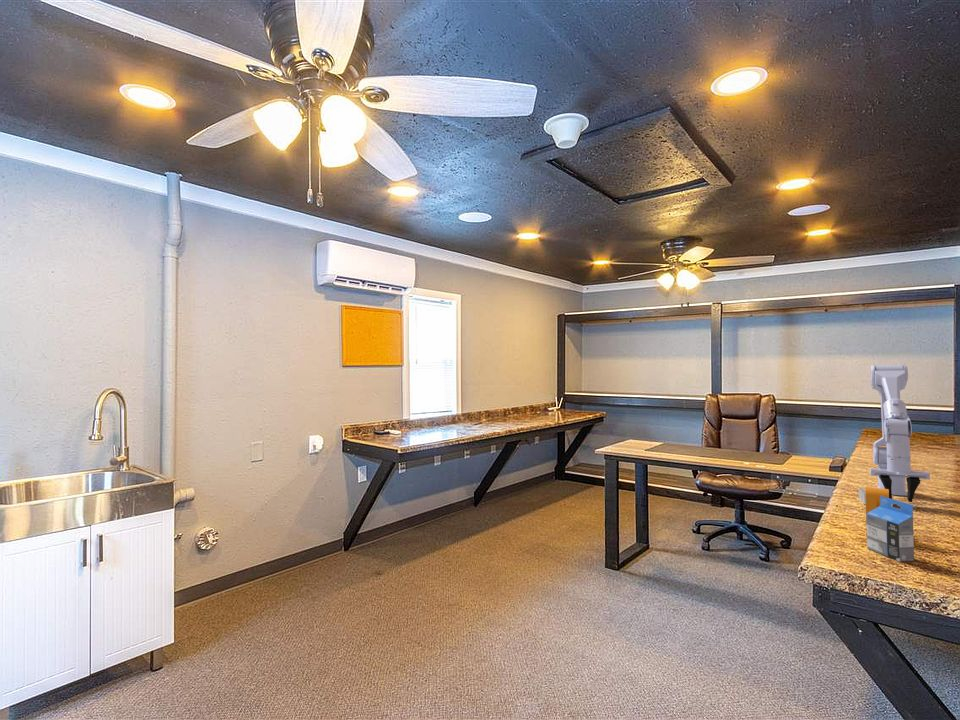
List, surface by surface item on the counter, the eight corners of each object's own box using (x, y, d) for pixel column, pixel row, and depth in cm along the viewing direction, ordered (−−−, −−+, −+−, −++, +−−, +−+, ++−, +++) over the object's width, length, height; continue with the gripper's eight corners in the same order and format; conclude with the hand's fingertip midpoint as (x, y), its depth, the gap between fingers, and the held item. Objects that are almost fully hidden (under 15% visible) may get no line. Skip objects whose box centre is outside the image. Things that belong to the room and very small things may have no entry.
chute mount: (858, 498, 170) (858, 487, 170) (885, 500, 167) (885, 489, 167) (864, 504, 161) (864, 493, 161) (892, 507, 158) (892, 495, 158)
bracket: (904, 545, 124) (902, 494, 124) (866, 539, 128) (865, 490, 128) (902, 534, 132) (901, 486, 132) (867, 529, 136) (865, 483, 137)
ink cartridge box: (865, 548, 121) (864, 495, 121) (881, 548, 121) (879, 495, 122) (899, 562, 112) (897, 505, 113) (916, 561, 112) (914, 504, 113)
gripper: (872, 457, 161) (873, 500, 161) (932, 460, 155) (933, 505, 154) (867, 453, 168) (869, 496, 167) (925, 456, 161) (926, 500, 160)
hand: (899, 500), depth 161 cm, fingers open, 4 cm apart
